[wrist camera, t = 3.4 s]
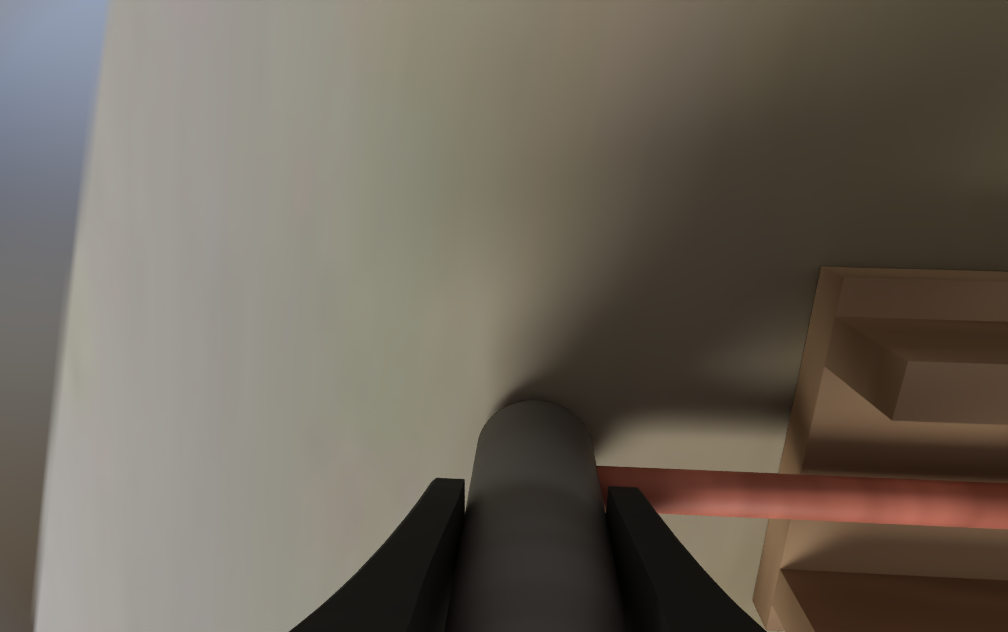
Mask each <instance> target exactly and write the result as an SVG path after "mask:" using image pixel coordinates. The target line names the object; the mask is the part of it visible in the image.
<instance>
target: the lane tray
mask: <svg viewBox="0 0 1008 632" xmlns="http://www.w3.org/2000/svg"><path fill="white" fill-rule="evenodd" d="M779 474H801V475H824V476H848V477H871V478H895V479H918V480H942V481H965V482H989V483H1008V272H1007V271H970V270H933V269H895V268H858V267H821V270H820V274H819V279H818V284H817V289H816V294H815V299H814V304H813V309H812V313H811V318H810V323H809V328H808V333H807V338H806V343H805V347H804V352H803V357H802V362H801V367H800V372H799V377H798V382H797V386H796V391H795V396H794V401H793V406H792V411H791V416H790V420H789V425H788V430H787V435H786V440H785V445H784V450H783V455H782V459H781V464H780V469H779ZM753 603H754V605H755V607H756V609H757V612H758V614H759V616H760V618H761V620H762V622H763V624H764V627H765V629H766V630H771V631H785V632H1008V529H988V528H966V527H945V526H923V525H901V524H879V523H858V522H836V521H814V520H792V519H771V518H769V523H768V528H767V532H766V537H765V542H764V547H763V552H762V557H761V562H760V567H759V571H758V576H757V581H756V586H755V591H754V596H753Z"/></svg>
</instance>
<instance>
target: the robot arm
mask: <svg viewBox="0 0 1008 632" xmlns="http://www.w3.org/2000/svg"><path fill="white" fill-rule="evenodd" d="M464 517H465V479H448V478H436V479H435V480H433V481H432V482H431V483H430V485H429V486H428V488H427V489H426V491H425V492H424V494H423V495H422V496H421V498H420V499H419V500H418V502H417V503H416V505H415V506H414V507H413V508H412V510H411V511H410V512H409V514H408V515H407V516H406V517H405V519H404V520H403V521H402V522H401V524H400V525H399V526H398V527H397V528H396V530H395V531H394V532H393V533H392V534H391V536H390V537H389V538H388V539H387V540H386V541H385V543H384V544H383V545H382V546H381V547H380V548H379V549H378V550H377V551H376V552H375V553H374V555H373V556H372V557H371V558H370V559H369V560H368V561H367V562H366V563H365V564H364V565H363V566H362V567H361V568H360V569H359V571H358V572H357V573H356V574H355V575H354V576H353V577H351V578H350V579H349V580H348V581H347V582H346V583H345V584H344V585H343V586H342V587H341V588H340V589H339V590H338V591H337V592H336V593H335V594H333V595H332V596H331V597H330V598H329V599H328V600H327V601H326V602H325V603H323V604H322V605H321V606H320V607H319V608H318V609H316V610H315V611H314V612H313V613H312V614H310V615H309V616H308V617H307V618H305V619H304V620H303V621H302V622H300V623H299V624H298V625H297V626H296V627H294V628H293V629H292V630H291V631H289V632H444V629H445V624H446V618H447V612H448V607H449V601H450V595H451V590H452V584H453V579H454V573H455V567H456V562H457V556H458V550H459V545H460V539H461V534H462V528H463V522H464ZM606 519H607V524H608V529H609V534H610V540H611V545H612V550H613V556H614V561H615V566H616V571H617V577H618V582H619V587H620V592H621V598H622V603H623V608H624V613H625V619H626V624H627V629H628V632H766V631H765V630H764V629H763V628H762V627H761V626H760V625H759V624H758V623H757V622H755V621H754V620H753V619H752V618H751V617H750V616H749V615H748V614H747V613H746V612H744V611H743V610H742V609H741V608H740V607H739V606H738V605H737V604H736V603H735V602H734V601H733V600H732V599H731V598H730V597H729V596H728V595H727V594H726V593H725V592H724V591H723V590H722V589H721V588H720V586H719V585H718V584H717V583H716V582H715V581H714V580H713V579H712V578H711V577H710V576H709V575H708V574H707V573H706V571H705V570H704V569H703V568H702V567H701V566H700V565H699V564H698V562H697V561H696V560H695V559H694V558H693V556H692V555H691V554H690V553H689V552H688V551H687V549H686V548H685V547H684V546H683V545H682V543H681V542H680V541H679V540H678V539H677V537H676V536H675V535H674V534H673V532H672V531H671V530H670V529H669V527H668V526H667V525H666V524H665V522H664V521H663V520H662V518H661V517H660V516H659V514H658V513H657V512H656V510H655V509H654V508H653V506H652V505H651V504H650V502H649V501H648V500H647V498H646V497H645V496H644V494H643V493H642V492H641V491H640V490H639V488H638V487H619V486H608V495H607V506H606Z"/></svg>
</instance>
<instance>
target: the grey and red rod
mask: <svg viewBox="0 0 1008 632" xmlns="http://www.w3.org/2000/svg"><path fill="white" fill-rule="evenodd" d="M608 486H619V487H638V488H639V490H640V491H641V492H642V493H643V494H644V496H645V497H646V498H647V500H648V501H649V502H650V504H651V505H652V506H653V508H654V509H655V510H656V512H657V513H662V514H684V515H705V516H727V517H749V518H771V519H792V520H814V521H836V522H858V523H879V524H901V525H923V526H945V527H966V528H988V529H1008V483H989V482H965V481H942V480H918V479H895V478H871V477H848V476H824V475H801V474H777V473H754V472H730V471H707V470H683V469H660V468H636V467H613V466H596V461H595V456H594V450H593V445H592V440H591V437H590V434H589V432H588V430H587V428H586V427H585V425H584V424H583V422H582V421H581V420H580V419H579V418H578V417H577V416H576V415H575V414H573V413H572V412H571V411H569V410H568V409H566V408H564V407H562V406H560V405H557V404H554V403H551V402H547V401H539V400H528V401H521V402H517V403H514V404H511V405H509V406H506V407H505V408H503V409H501V410H499V411H498V412H497V413H495V414H494V415H493V416H492V417H491V418H490V419H489V420H488V421H487V423H486V424H485V425H484V427H483V429H482V431H481V433H480V436H479V439H478V443H477V449H476V455H475V460H474V466H473V472H472V477H471V483H470V488H469V494H468V500H467V505H466V511H465V517H464V522H463V528H462V534H461V539H460V545H459V550H458V556H457V562H456V567H455V573H454V579H453V584H452V590H451V595H450V601H449V607H448V612H447V618H446V624H445V629H444V632H628V629H627V624H626V619H625V613H624V608H623V603H622V598H621V592H620V587H619V582H618V577H617V571H616V566H615V561H614V556H613V550H612V545H611V540H610V534H609V529H608V524H607V519H606V513H605V511H606V506H607V495H608Z"/></svg>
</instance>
